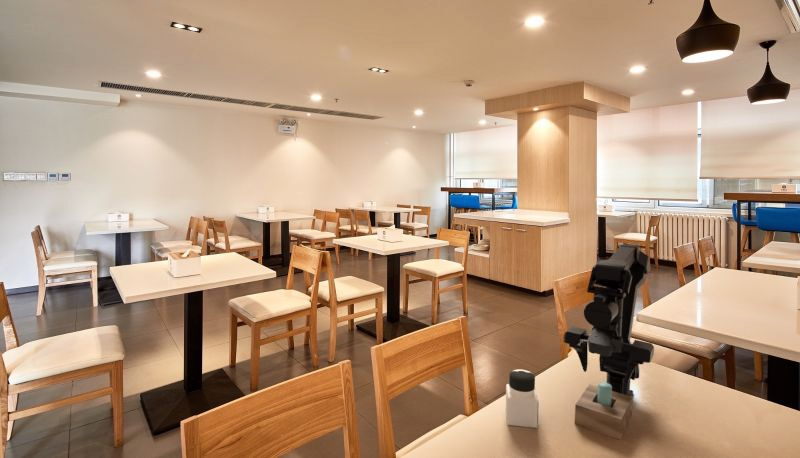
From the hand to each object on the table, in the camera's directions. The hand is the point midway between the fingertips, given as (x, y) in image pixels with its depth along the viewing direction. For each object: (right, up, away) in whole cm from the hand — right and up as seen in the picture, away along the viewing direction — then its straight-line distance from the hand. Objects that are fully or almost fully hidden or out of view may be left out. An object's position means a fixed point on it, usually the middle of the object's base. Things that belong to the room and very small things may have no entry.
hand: (605, 376), depth 98 cm
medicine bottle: (-20, -12, +3) cm, 23 cm away
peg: (0, -11, +2) cm, 11 cm away
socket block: (0, -11, +2) cm, 11 cm away
